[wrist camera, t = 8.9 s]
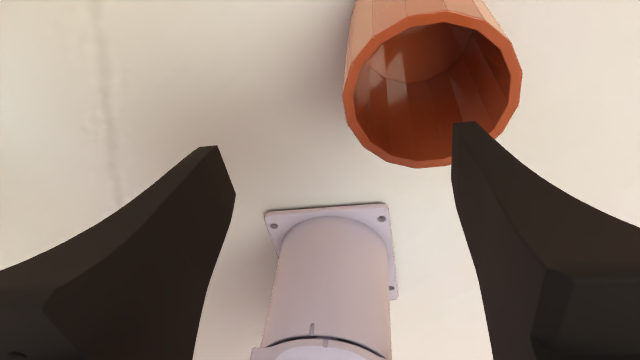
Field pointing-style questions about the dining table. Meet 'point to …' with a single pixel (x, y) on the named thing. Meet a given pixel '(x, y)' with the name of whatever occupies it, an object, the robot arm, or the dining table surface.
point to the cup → (426, 76)
